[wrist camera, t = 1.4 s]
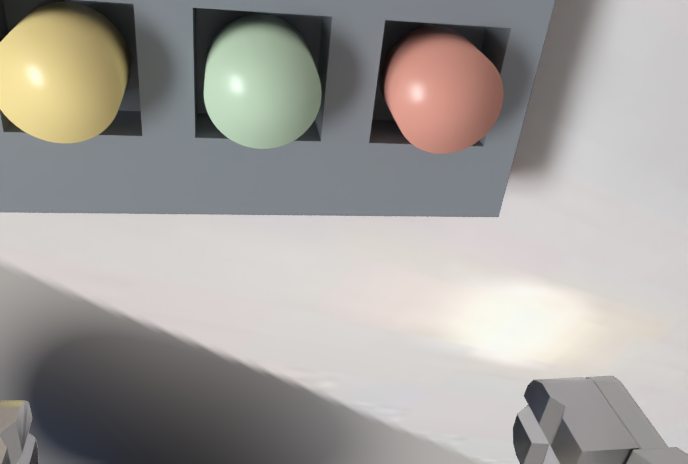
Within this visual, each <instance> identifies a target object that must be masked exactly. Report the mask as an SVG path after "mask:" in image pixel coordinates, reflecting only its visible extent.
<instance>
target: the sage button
mask: <svg viewBox="0 0 688 464" xmlns="http://www.w3.org/2000/svg"><path fill="white" fill-rule="evenodd" d="M321 94H322V90H321V83H320V79H319V75H318V73H317V70H316V67H315V64H314V61H313V58H312V55H311V52H310V50H309V47H308V45H307V43H306V41H305V39H304V38H303V36H302V35H301V34H300V33H299V32H298V31H297V30H296V29H295V28H294V27H293V26H292V25H290V24H289V23H287V22H286V21H284V20H282V19H280V18H277V17H274V16H270V15H264V14H252V15H246V16H242V17H239V18H237V19H235V20H233V21H231V22H229V23H228V24H226V25H225V26H224V27H223V28H222V29H221V30H220V31H219V32H218V33H217V34H216V36H215V37H214V38H213V40H212V42H211V44H210V46H209V49H208V52H207V57H206V68H205V80H204V102H205V106H206V109H207V112H208V115H209V117H210V119H211V120H212V122H213V123H214V125H215V126H216V127H217V129H218V130H219V131H220V132H221V133H222V134H224V135H225V136H226V137H227V138H229V139H230V140H232V141H234V142H236V143H238V144H240V145H243V146H246V147H250V148H256V149H270V148H276V147H280V146H284V145H286V144H288V143H291V142H292V141H294V140H296V139H297V138H299V137H300V136H301V135H303V134H304V133H305V132H306V131H307V130H308V128H309V127H310V126H311V125H312V123H313V122H314V120H315V118H316V116H317V114H318V111H319V108H320V104H321Z"/></svg>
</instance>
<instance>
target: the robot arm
mask: <svg viewBox="0 0 688 464" xmlns="http://www.w3.org/2000/svg"><path fill="white" fill-rule="evenodd" d="M524 397H525V399H526V401H527V403H528V405H527V406H526V407H525V408H524V409H523V410H521V411H520V412H519V413H518V414H517V416H516V420H515V423H514V426H513V444H514V448H515V452H516V456H517V458H518V460H519V462H520V464H688V454H687V453H685V452H684V451H682V450H680V449H679V448H677V447H668V446H667V444H666V443H665V442H664V440H663V439H662V438H661V436H660V435H659V433H658V432H657V431H656V429H655V428H654V427H653V425H652V424H651V422H650V421H649V420H648V418H647V417H646V416H645V414H644V413H643V411H642V410H641V409H640V407H639V406H638V405H637V403H636V402H635V400H634V399H633V398H632V396H631V395H630V394H629V392H628V391H627V389H626V388H625V387H624V385H623V384H622V383H621V381H620V380H618V379H617V378H615V377H614V376H599V377H586V378H583V377H578V378H558V379H539V380H533V381H532V382H531V383H530V384H529V385H528V386H527V389H526V391H525V394H524ZM31 421H32V415H31V410H30V406H29V402H26V401H0V464H38V448H37V442H36V438H34V437H33V436H32V435H31V434H29V433H28V431H29V428H30V424H31Z"/></svg>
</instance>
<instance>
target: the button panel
mask: <svg viewBox="0 0 688 464" xmlns="http://www.w3.org/2000/svg"><path fill="white" fill-rule="evenodd" d="M52 2H73V3H78V4H82V5H85V6H87V7H90V8H92V9H94V10H96V11H98V12H99V13H101V14H102V15H104V16H105V17H106V18H108V19H109V20H110V21H111V22H112V23H113V24H114V25H115V26H116V27H117V29H118V30H119V31H120V33H121V34H122V36H123V38H124V39H125V41H126V44H127V46H128V49H129V52H130V57H131V73H130V78H129V81H128V84H127V87H126V90H125V93H124V95H123V98H122V101H121V104H120V107H119V109H118V112H117V114H116V116H115V118H114V120H113V121H112V123H111V124H110V125H109V126H108V127H107V128H106V129H105V130H104V131H103V132H101V133H100V134H99V135H97V136H95V137H93V138H91V139H88V140H86V141H82V142H77V143H54V142H49V141H45V140H42V139H39V138H36V137H34V136H32V135H30V134H28V133H26V132H24V131H23V130H21V129H20V128H18V127H17V126H16V125H15V124H13V123H12V122H11V121H10V120H9V119H8V118H7V117H6V116H5V115H4V114H3V112H2V111H1V109H0V212H25V213H129V214H232V215H336V216H439V217H499V213H500V209H501V205H502V202H503V198H504V194H505V190H506V186H507V182H508V179H509V175H510V171H511V167H512V163H513V160H514V156H515V152H516V148H517V144H518V140H519V137H520V133H521V129H522V125H523V121H524V118H525V114H526V110H527V106H528V102H529V98H530V95H531V91H532V87H533V83H534V79H535V76H536V72H537V68H538V64H539V60H540V57H541V53H542V49H543V45H544V41H545V37H546V34H547V30H548V26H549V22H550V18H551V15H552V11H553V7H554V3H555V0H0V42H1V41H2V40H3V39H4V38H5V37H6V36H7V35H8V33H9V32H10V31H11V30H12V29H13V28H14V27H15V26H16V25H17V24H18V23H19V22H20V21H21V20H22V19H23V18H24V17H25V16H26V15H27V14H28V13H29V12H31V11H32V10H34V9H35V8H37V7H39V6H41V5H44V4H48V3H52ZM252 14H264V15H270V16H274V17H277V18H280V19H282V20H284V21H286V22H287V23H289V24H290V25H292V26H293V27H294V28H295V29H296V30H297V31H298V32H299V33H300V34H301V35H302V36H303V38H304V39H305V41H306V43H307V45H308V47H309V50H310V52H311V55H312V58H313V61H314V64H315V67H316V70H317V73H318V75H319V79H320V83H321V90H322V94H321V104H320V108H319V111H318V114H317V116H316V118H315V120H314V122H313V123H312V125H311V126H310V127H309V128H308V130H307V131H306V132H305V133H304V134H303V135H301V136H300V137H299V138H297V139H296V140H294V141H292V142H291V143H288V144H286V145H284V146H280V147H276V148H270V149H256V148H250V147H246V146H243V145H240V144H238V143H236V142H234V141H232V140H230V139H229V138H227V137H226V136H225V135H224V134H222V133H221V132H220V131H219V130H218V129H217V127H216V126H215V125H214V123H213V122H212V120H211V119H210V117H209V115H208V112H207V109H206V106H205V102H204V80H205V68H206V57H207V52H208V49H209V46H210V44H211V42H212V40H213V38H214V37H215V36H216V34H217V33H218V32H219V31H220V30H221V29H222V28H223V27H224V26H225V25H226V24H228V23H229V22H231V21H233V20H235V19H237V18H239V17H242V16H246V15H252ZM433 25H439V26H445V27H449V28H452V29H454V30H456V31H458V32H460V33H461V34H462V35H464V36H465V37H466V38H467V39H468V40H469V41H470V42H471V43H472V44H473V45H474V46H475V47H476V48H477V49H478V50H479V51H480V52H482V53H483V54H484V55H485V56H486V57H487V58H488V59H489V60H490V61H491V62H492V63H493V65H494V66H495V67H496V69H497V70H498V72H499V74H500V77H501V79H502V83H503V91H504V94H503V103H502V108H501V111H500V114H499V116H498V118H497V120H496V122H495V123H494V125H493V126H492V128H491V129H490V130H489V132H488V133H487V134H486V135H485V136H484V137H483V138H481V139H480V140H479V141H478V142H476V143H475V144H473V145H472V146H470V147H468V148H466V149H463V150H461V151H457V152H454V153H448V154H436V153H430V152H426V151H423V150H421V149H419V148H417V147H415V146H414V145H413V144H411V143H410V142H409V141H408V140H407V139H406V138H405V136H404V135H403V134H402V132H401V130H400V128H399V127H398V125H397V123H396V121H395V119H394V117H393V115H392V114H391V112H390V110H389V108H388V106H387V104H386V102H385V101H384V99H383V96H382V93H381V88H380V73H381V68H382V65H383V62H384V59H385V57H386V55H387V54H388V52H389V50H390V49H391V48H392V47H393V45H394V44H395V43H396V42H397V41H398V40H399V39H400V38H402V37H403V36H404V35H406V34H407V33H409V32H411V31H413V30H415V29H418V28H421V27H425V26H433Z"/></svg>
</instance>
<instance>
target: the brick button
mask: <svg viewBox="0 0 688 464" xmlns="http://www.w3.org/2000/svg"><path fill="white" fill-rule="evenodd" d="M380 88H381V93H382V96H383V99H384V101H385V102H386V104H387V106H388V108H389V110H390V112H391V114H392V115H393V117H394V119H395V121H396V123H397V125H398V127H399V128H400V130H401V132H402V134H403V135H404V136H405V138H406V139H407V140H408V141H409V142H410V143H411V144H413V145H414V146H415V147H417V148H419V149H421V150H423V151H426V152H430V153H436V154H448V153H454V152H457V151H461V150H463V149H466V148H468V147H470V146H472V145H473V144H475V143H476V142H478V141H479V140H480V139H481V138H483V137H484V136H485V135H486V134H487V133H488V132H489V130H490V129H491V128H492V126H493V125H494V123H495V122H496V120H497V118H498V116H499V114H500V111H501V108H502V103H503V94H504V91H503V83H502V79H501V77H500V74H499V72H498V70H497V69H496V67H495V66H494V65H493V63H492V62H491V61H490V60H489V59H488V58H487V57H486V56H485V55H484V54H483V53H482V52H480V51H479V50H478V49H477V48H476V47H475V46H474V45H473V44H472V43H471V42H470V41H469V40H468V39H467V38H466V37H465V36H464V35H462V34H461V33H460V32H458V31H456V30H454V29H452V28H449V27H445V26H439V25H433V26H425V27H421V28H418V29H415V30H413V31H411V32H409V33H407V34H406V35H404V36H403V37H402V38H400V39H399V40H398V41H397V42H396V43H395V44H394V45H393V47H392V48H391V49H390V50H389V52H388V54H387V55H386V57H385V59H384V62H383V65H382V68H381V73H380Z"/></svg>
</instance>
